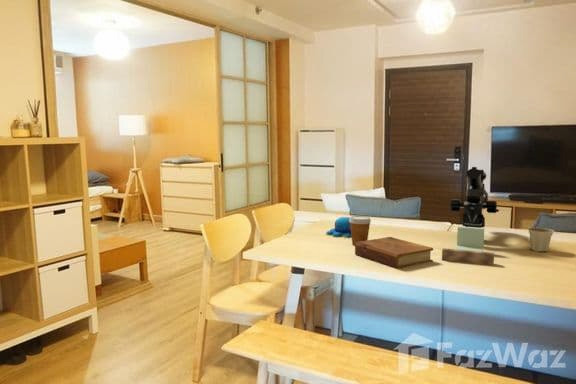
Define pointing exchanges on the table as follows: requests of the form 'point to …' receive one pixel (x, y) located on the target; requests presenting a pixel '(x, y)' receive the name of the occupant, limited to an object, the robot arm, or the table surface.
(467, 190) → the robot arm
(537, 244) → the flower pot
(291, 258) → the table surface
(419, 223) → the table surface
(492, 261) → the board
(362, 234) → the disposable coffee cup
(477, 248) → the bookend
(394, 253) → the diary
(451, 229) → the table surface
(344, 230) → the plush toy
